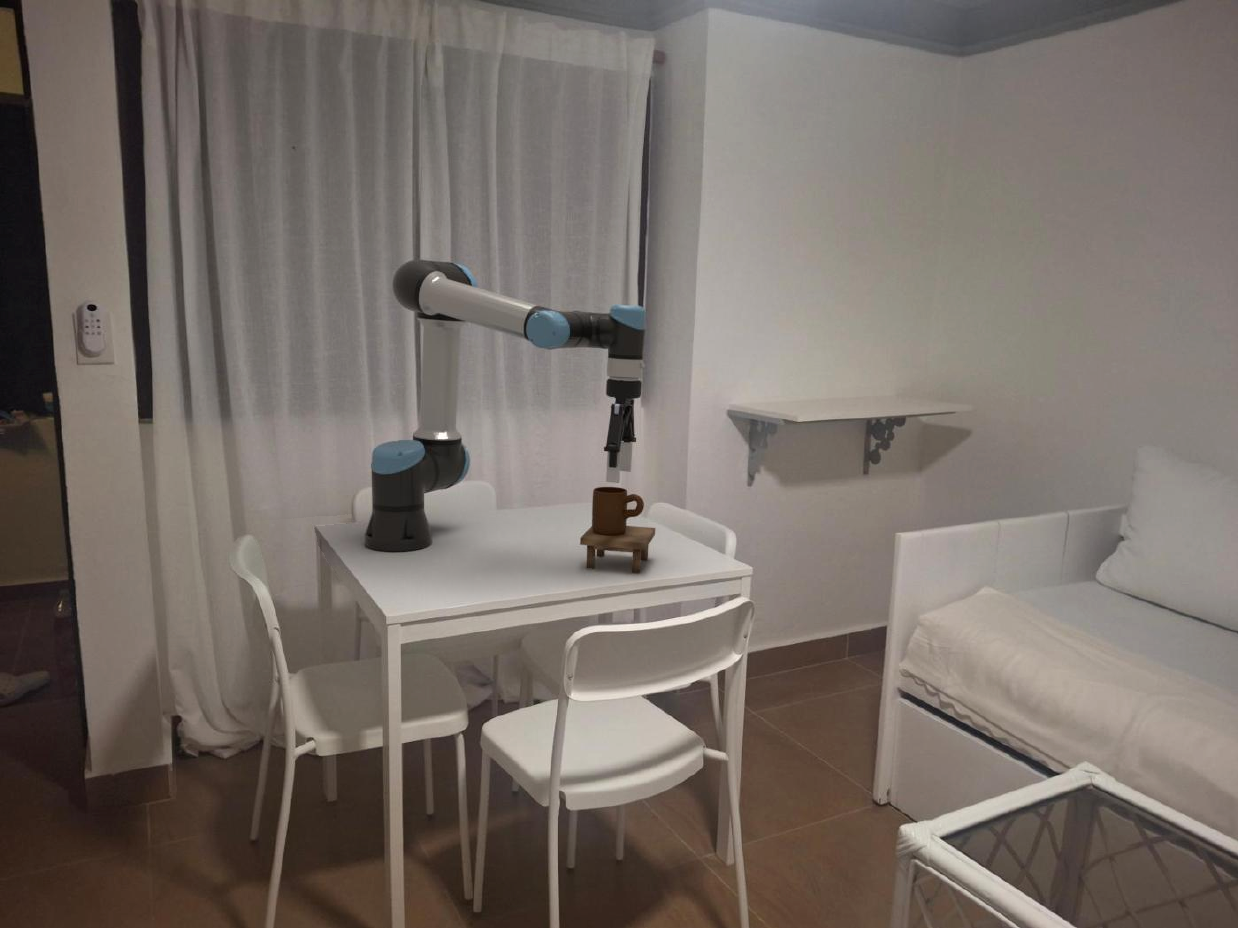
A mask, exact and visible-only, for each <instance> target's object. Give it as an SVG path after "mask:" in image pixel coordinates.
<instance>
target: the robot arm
mask: <svg viewBox="0 0 1238 928" xmlns="http://www.w3.org/2000/svg"><path fill="white" fill-rule="evenodd" d="M392 292H393V294H394V295H393V296H394V298H395V299H396V301H397V302H398V304H400V306H402V307H403V308H405V309H406V310H409V311H411V312H415V313H416V312H417V316H416V317H417V318H416V319H417V321H418V322H419V323H420V324H421V325H422V326H423V333H422V337H423V338H422V360H421V380H420V382H421V385H420V386H421V387H420V405H419V406H420V409H419V410H420V411H419V412H420V413H419V427H418V428H417V429H415V431H413V433H412V439H401V440H399V439H398V440H392V441H387V442H383V443H381V444H379V445H376V446H375V448H374V449H373V450H372V454H371V463H370V469H371V502H372V507H371V508H372V511H371V515H370V518H369V522H368V523H367V527H366V529H365V533H364V545H365V546H366V547H367V548H368V549H372V550H375V551H380V552H407V551H408V552H409V551H416V550H419V549H420V550H421V549H424V548H427V547H430V546H431V544H432V543H433V533H432V530H431V527H430V523H429V520H428V517H427V515H426V513H425V494H429V493H432V492H435V491H436V492H437V491H439V490H440V491H441V490H447V489H449V488H451V487H454V486H457V485H458V484H459V483H461V482H462V481H463V480H464V479H466V476H467V474H468V472H469V471H470V466H471V459H470V458H471V456H470V452H469V450H467V449H466V448H467V447H466V445H465V444H464V443H463V441H462V439H463V437H462V436H463V435H462V434H461V433H460V432H459V431H458V429H457V412H458V411H457V410H458V409H457V408H458V389H459V372H460V371H459V369H460V368H459V367H460V352H461V350H460V348H461V330H462V328H463V327H464V326H465V325H466V324H468V323H470V324H473V325H476V326H480V327H482V328H486V329H489V330H493V331H497V332H499V333H503V334H506V335H509V336H512V337H515V338H519V339H523V340H526V341H529V342H530V343H532V345H533V346H534V347H536V348H539V349H544V350H556V349H573V348H574V349H576V348H589V349H590V348H591V349H592V348H593V349H603V350H607V363H606V376H607V377H608V378H607V380H606V386H605V387H606V389H605V395H606V396H607V397H609V398H613V399H615V402H614V403H611V405H610V415H609V423H608V430H607V437H606V444H605V446H604V447H603V451H604V452H607V453H606V454H607V458H606V476H605V482H606V483H614V484H620V479H621V477H620V476H621V475H620V474H621V472H627V473H628V472H629V473H631V472H632V457H633V443H636V442H637V437H636V434H635V410H634V408H635V406H634V405H635V399H639V398H641V397H642V385H643V382H642V380H640V379H641V378H642V377H643V369H645V368H646V364H645V363H643V362H644V348H645V347H644V346H645V338H646V337H645V335H646V334H645V333H646V330H647V328H646V310H645V308H644V307H643V306H641V305H625V304H613V305H611V306H610V309H609V312H607V313H603V312H589V311H588V312H587V311H579V310H571V311H567V310H566V311H561V310H556V309H551V308H550V307H549V308H548V307H545V306H541V305H537V304H534V303H530V302H527V301H524V300H520V299H517V298H513V297H510V296H506V295H504V294H500V293H497V292H493V291H489V290H487V289H482V288H479V286H478V283H477V279H476V277H475V275H473V273H472V272H471V271H470V270H469V269H468V267H465V266H464V265H463V264H459V263H455V262H450V261H436V260H426V259H414V260H413V259H412V260H409V261H407V262H404V263H403V264H402V265H401V266H399V268H398V269H397V270H396V272H395V273H394V276H393V278H392Z"/></svg>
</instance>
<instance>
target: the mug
mask: <svg viewBox="0 0 1238 928" xmlns="http://www.w3.org/2000/svg"><path fill="white" fill-rule="evenodd" d="M632 502H635V503H636V506H635V508H634V509H633V508H632V509H631V508H630V509H629V508H628V504H629V503H632ZM591 505H592V508H591V509H592V510H591V526H592V530H593V532H595V533H597V534H601V535H620V534H623V533H624V532H625V531H626V526H627V520H628V519H629V518H635V517H638V516H639V515H641V514H642V512H643V510H644V507H645V503H644V500H643V498H642V497H641V496H640V495H638V494H635V493H631V494H628V490H627V489H626V488H624V487H623V488H622V487H619V486H617V487H616V486H598V487H596V488H594V489H593V492H592V504H591Z"/></svg>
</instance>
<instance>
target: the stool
mask: <svg viewBox="0 0 1238 928" xmlns="http://www.w3.org/2000/svg"><path fill="white" fill-rule="evenodd" d="M655 535H656V527H648V526H647V527H646V526H635V525H626V531H625V532H624V533H623V534H620V535H601V534H597V533H595V532H593V530H592V525H591V526H590V528H588V529H587V530H586V531H585V533H584V534H582V536H580V539H579V545H581V546H586V569H589V570H593V569H594V570H595V568H596V557H597V558H605V551H607V552H608V551H609V552H621V553H622V552H623V553H632V564H631V565H632V566H631V572H632V573H633V574H640V573H641V572H642V571H641V568H642V567H641V566H642V565H641V564H642V561H643V562H646V561H648V560H649V547H650V546H649V545H650V544H651V542H652V540H653V539H654V537H655Z"/></svg>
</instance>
